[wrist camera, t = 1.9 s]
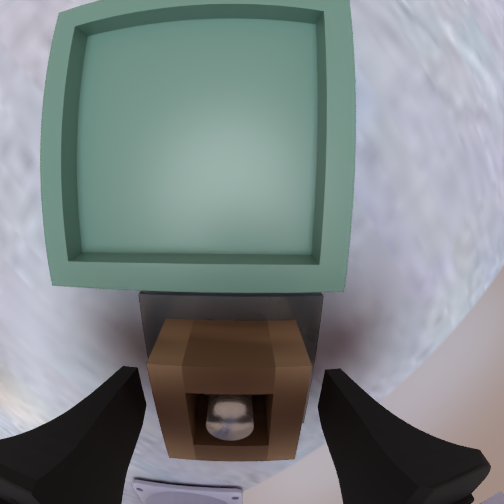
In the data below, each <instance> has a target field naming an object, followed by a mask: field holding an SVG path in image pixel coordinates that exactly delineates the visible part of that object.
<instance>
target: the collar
mask: <svg viewBox="0 0 504 504" xmlns="http://www.w3.org/2000/svg"><path fill="white" fill-rule="evenodd" d="M311 368H312V365H311V362H310V359H309V356H308V353H307V351H306V348H305V345H304V342H303V339H302V336H301V334H300V331H299V328H298V325H297V323H296V320H271V321H230V320H186V319H166V320H165V322H164V324H163V326H162V329H161V331H160V333H159V335H158V338H157V340H156V342H155V345H154V347H153V349H152V352H151V354H150V356H149V359H148V361H147V369H148V374H149V379H150V384H151V388H152V393H153V397H154V402H155V406H156V410H157V414H158V418H159V422H160V426H161V430H162V434H163V438H164V441H165V445H166V448H167V452H168V455H169V458H178V459H190V460H206V461H272V460H288V459H295V455H296V450H297V445H298V440H299V436H300V431H301V425H302V420H303V415H304V410H305V404H306V398H307V393H308V387H309V381H310V374H311ZM200 394H239V395H244V394H263V395H259V396H252V408H253V423H254V428H253V431H252V433H251V434H250V435H248V436H247V437H245V438H243V439H240V440H234V441H229V440H222V439H219V438H216V437H214V436H213V435H211V434H210V433H209V432H208V430H207V428H206V421H207V411H208V402H209V395H200Z"/></svg>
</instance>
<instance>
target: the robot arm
mask: <svg viewBox="0 0 504 504" xmlns="http://www.w3.org/2000/svg"><path fill="white" fill-rule="evenodd" d="M145 410H146V401H145V397H144V393H143V389H142V385H141V380H140V376H139V372H138V368H137V367H128V366H123V367H122V368H120V369H119V370H118V371H117V372H116V373H115V374H113V375H112V376H111V377H110V378H109V379H108V380H107V381H105V382H104V383H103V384H102V385H101V386H100V387H98V388H97V389H96V390H95V391H94V392H93V393H91V394H90V395H89V396H87V397H86V398H85V399H83V400H82V401H81V402H79V403H78V404H77V405H76V406H74V407H73V408H71V409H70V410H68V411H67V412H65V413H64V414H62V415H60V416H59V417H57V418H55V419H53V420H52V421H50V422H48V423H45V424H43V425H41V426H39V427H37V428H35V429H33V430H30V431H27V432H25V433H22V434H19V435H16V436H13V437H9V438H5V439H1V440H0V504H121V502H122V495H123V489H124V483H125V478H126V474H127V470H128V466H129V463H130V460H131V457H132V455H133V452H134V449H135V446H136V443H137V440H138V437H139V434H140V431H141V428H142V425H143V420H144V415H145ZM318 411H319V417H320V422H321V427H322V430H323V433H324V436H325V439H326V442H327V445H328V447H329V451H330V454H331V456H332V460H333V462H334V465H335V468H336V471H337V475H338V478H339V483H340V488H341V493H342V499H343V504H471V503H472V502H473V501H474V497H473V496H472V494H471V493H472V492H473V491H474V490H475V489H476V488H477V487H478V486H479V485H480V484H481V482H482V481H483V480H484V479H485V478H486V477H487V475H488V473H489V472H490V468H491V466H490V464H489V463H488V461H487V460H486V458H485V457H484V455H483V454H482V452H481V451H480V450H478V449H473V448H469V447H464V446H460V445H456V444H453V443H450V442H447V441H444V440H441V439H439V438H436V437H434V436H431V435H429V434H427V433H425V432H423V431H421V430H419V429H417V428H415V427H413V426H411V425H410V424H407V423H406V422H405V421H403V420H401V419H400V418H398V417H397V416H395V415H394V414H392V413H391V412H390V411H388V410H386V409H385V408H384V407H383V406H381V405H380V404H379V403H378V402H376V401H375V400H374V399H373V398H372V397H370V396H369V395H368V394H367V393H366V392H365V391H364V390H363V389H361V388H360V387H359V386H358V385H357V384H356V383H355V382H354V381H353V380H352V379H351V378H350V377H349V376H348V375H347V374H346V373H344V372H343V371H342V370H341V369H328V370H325V373H324V379H323V384H322V389H321V393H320V398H319V403H318ZM132 486H133V488H134V490H135V491H136V493H137V495H138V497H139V498H140V500H141V502H142V504H242V490H240V489H236V488H206V487H191V486H180V485H171V484H163V483H155V482H149V481H142V480H133V481H132ZM481 504H504V494H503V493H502V492H498V493H497V494H495V495H494V496H492V497H490V498H489V499H487V500H485V501H484V502H482V503H481Z"/></svg>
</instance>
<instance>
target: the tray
mask: <svg viewBox="0 0 504 504" xmlns="http://www.w3.org/2000/svg"><path fill="white" fill-rule="evenodd" d="M355 144H356V92H355V63H354V46H353V32H352V20H351V10H350V1H349V0H100V1H96V2H92V3H89V4H85V5H82V6H79V7H75V8H72V9H69V10H66V11H63V12H60V13H59V15H58V19H57V23H56V27H55V31H54V36H53V40H52V45H51V50H50V56H49V61H48V68H47V74H46V81H45V89H44V99H43V109H42V123H41V148H40V174H41V199H42V213H43V225H44V234H45V243H46V250H47V257H48V264H49V270H50V276H51V281H52V285H53V286H67V287H83V288H100V289H120V290H143V291H173V292H219V293H306V292H344V287H345V279H346V271H347V262H348V253H349V243H350V233H351V221H352V208H353V193H354V174H355Z"/></svg>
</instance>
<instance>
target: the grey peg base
mask: <svg viewBox="0 0 504 504" xmlns="http://www.w3.org/2000/svg"><path fill="white" fill-rule="evenodd" d="M139 301H140V309H141V316H142V323H143V330H144V336H145V342H146V348H147V354H148V359H149V356H150V354H151V352H152V349H153V347H154V345H155V342H156V340H157V338H158V335H159V333H160V331H161V329H162V326H163V324H164V322H165V320H166V319H186V320H230V321H271V320H296V323H297V325H298V328H299V331H300V334H301V336H302V339H303V342H304V345H305V348H306V351H307V353H308V356H309V359H310V362H311V365H312V368H311V374H310V381H309V387H308V393H307V398H306V404H305V410H304V415H303V420H302V423H304V419H305V414H306V409H307V403H308V398H309V392H310V386H311V381H312V374H313V368H314V362H315V355H316V349H317V342H318V335H319V327H320V320H321V312H322V304H323V295H322V293H321V292H306V293H219V292H173V291H143V290H141V292H140V293H139ZM200 395H209V402H208V411H207V421H206V428H207V430H208V432H209V433H210V434H211V435H213V436H214V437H216V438H219V439H222V440H229V441H234V440H240V439H243V438H245V437H247V436H248V435H250V434H251V433H252V431H253V428H254V423H253V408H252V396H259V395H263V394H244V395H239V394H200Z"/></svg>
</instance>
